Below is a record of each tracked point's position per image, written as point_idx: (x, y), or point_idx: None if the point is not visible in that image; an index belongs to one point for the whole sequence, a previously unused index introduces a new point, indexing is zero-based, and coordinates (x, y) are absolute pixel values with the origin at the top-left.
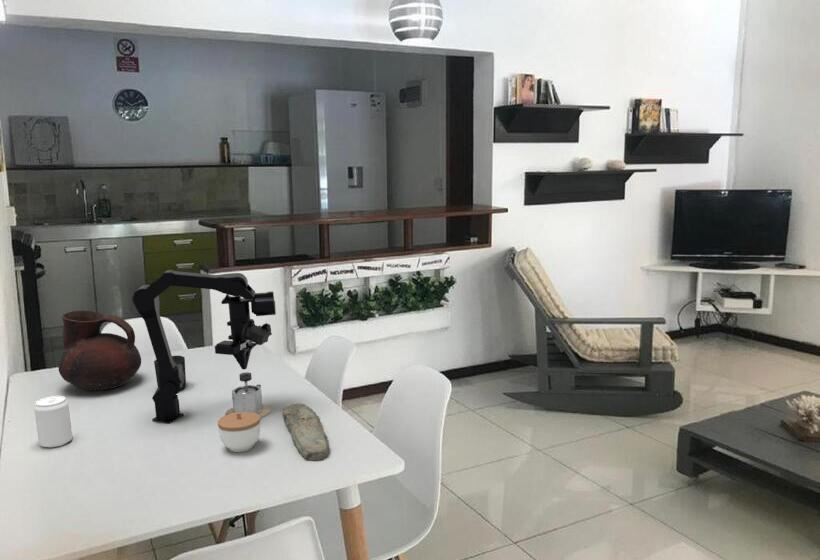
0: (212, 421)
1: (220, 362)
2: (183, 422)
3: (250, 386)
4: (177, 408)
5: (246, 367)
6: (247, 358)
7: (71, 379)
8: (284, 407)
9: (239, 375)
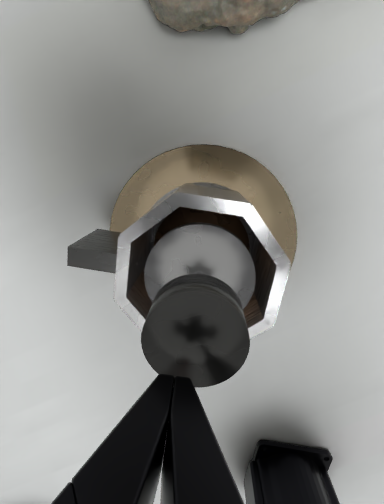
0: (302, 335)
1: None
2: (315, 418)
3: (128, 286)
4: (284, 480)
5: (164, 381)
6: (135, 484)
7: None
8: (228, 18)
9: (224, 378)
